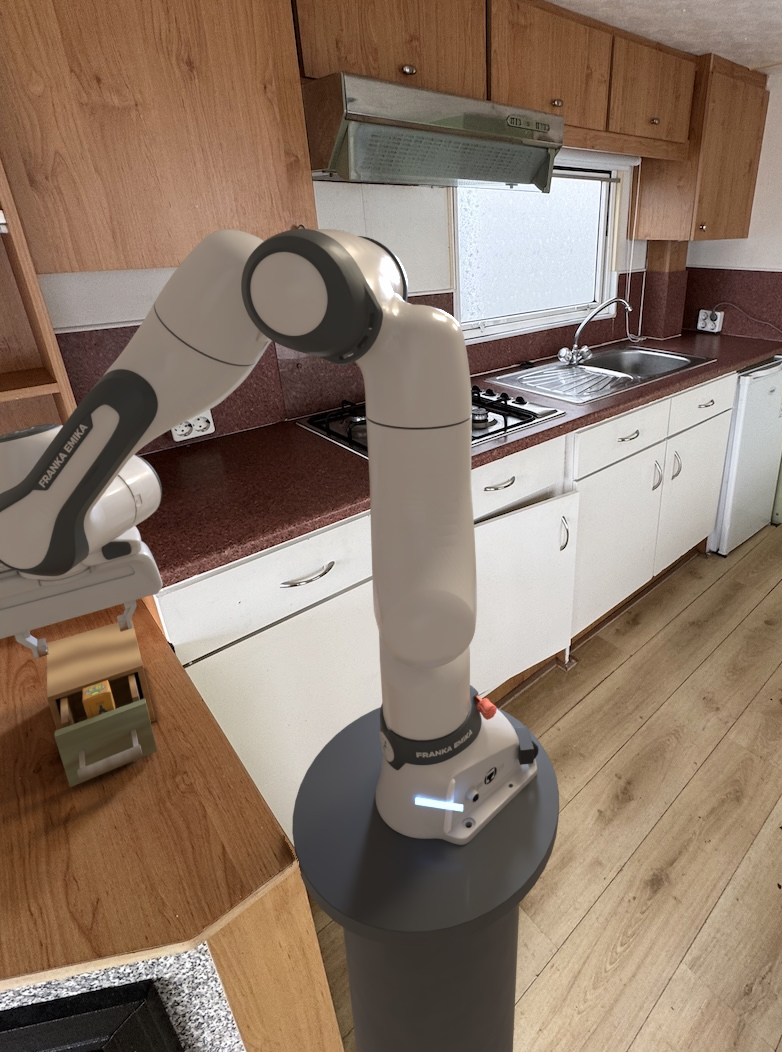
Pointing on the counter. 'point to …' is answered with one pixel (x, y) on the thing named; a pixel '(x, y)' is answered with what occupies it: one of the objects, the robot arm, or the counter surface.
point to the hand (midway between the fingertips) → (85, 640)
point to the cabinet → (93, 664)
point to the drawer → (104, 733)
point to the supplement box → (98, 699)
